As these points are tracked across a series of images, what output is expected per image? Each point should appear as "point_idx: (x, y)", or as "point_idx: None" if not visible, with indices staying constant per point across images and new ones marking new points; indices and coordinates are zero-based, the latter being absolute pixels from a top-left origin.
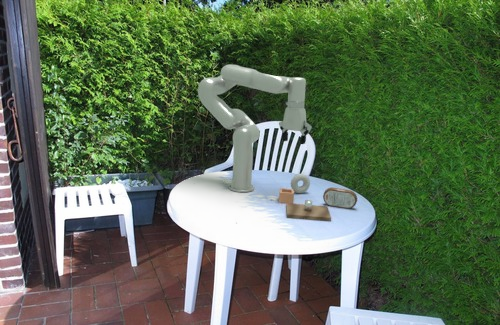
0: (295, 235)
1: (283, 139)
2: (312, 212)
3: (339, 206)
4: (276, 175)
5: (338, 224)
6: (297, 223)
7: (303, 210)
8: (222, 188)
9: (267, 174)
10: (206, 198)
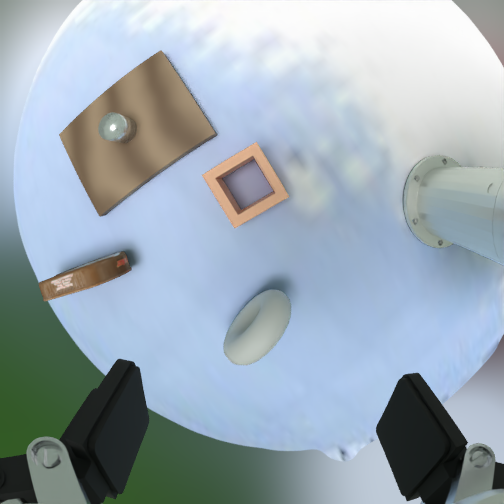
0: (107, 4)
1: (418, 384)
2: None
3: (90, 262)
4: None
5: (48, 134)
6: (124, 49)
7: (134, 116)
8: (473, 163)
9: None
10: (442, 53)
